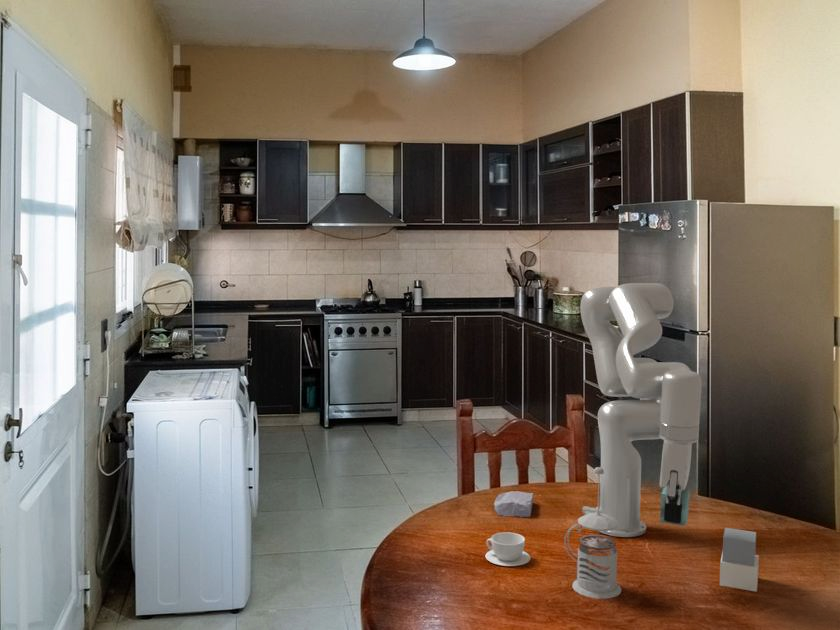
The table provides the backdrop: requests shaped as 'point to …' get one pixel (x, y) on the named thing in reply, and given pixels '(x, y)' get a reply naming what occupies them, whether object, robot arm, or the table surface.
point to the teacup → (507, 549)
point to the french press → (596, 578)
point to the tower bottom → (739, 575)
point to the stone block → (514, 504)
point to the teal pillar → (684, 502)
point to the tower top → (739, 546)
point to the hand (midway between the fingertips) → (674, 515)
